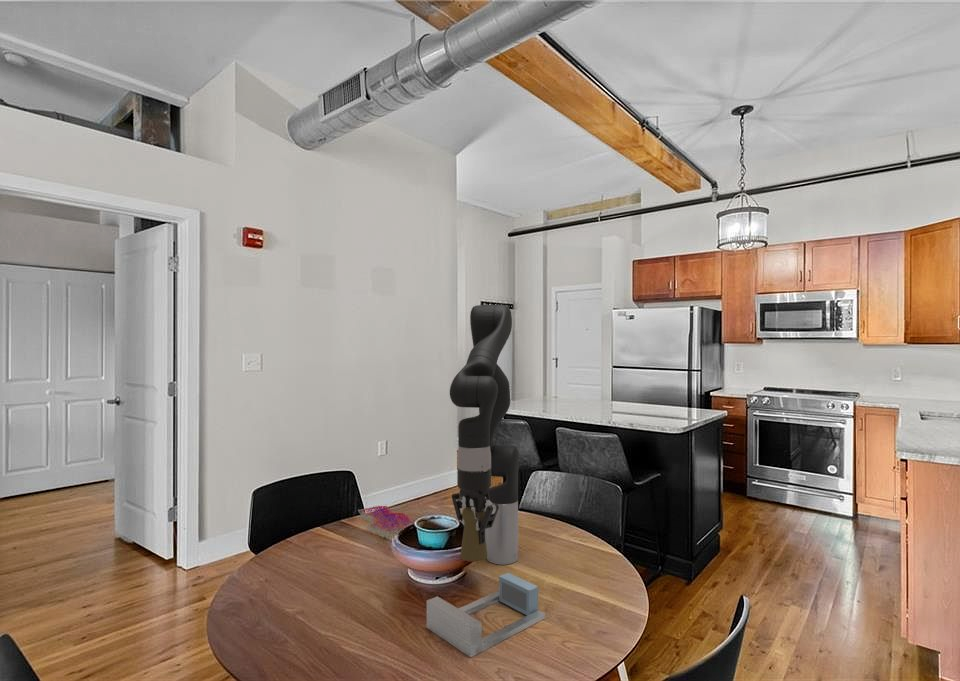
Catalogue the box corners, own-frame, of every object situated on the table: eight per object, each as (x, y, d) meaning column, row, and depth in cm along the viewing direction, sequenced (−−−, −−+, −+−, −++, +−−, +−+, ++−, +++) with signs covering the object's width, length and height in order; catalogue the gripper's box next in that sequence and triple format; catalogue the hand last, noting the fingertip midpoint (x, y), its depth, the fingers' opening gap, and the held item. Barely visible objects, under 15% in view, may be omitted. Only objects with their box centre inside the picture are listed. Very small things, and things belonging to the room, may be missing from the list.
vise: (426, 627, 117) (426, 600, 117) (499, 595, 132) (499, 571, 132) (470, 657, 106) (470, 627, 106) (544, 618, 121) (544, 592, 121)
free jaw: (499, 601, 128) (498, 576, 128) (508, 596, 130) (508, 572, 130) (529, 616, 121) (529, 590, 121) (538, 612, 123) (538, 586, 123)
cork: (487, 561, 113) (487, 510, 113) (459, 561, 113) (459, 510, 113) (487, 550, 119) (487, 502, 119) (460, 550, 119) (461, 502, 119)
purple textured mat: (356, 516, 194) (355, 502, 194) (396, 510, 200) (396, 497, 200) (374, 544, 166) (374, 528, 166) (420, 537, 172) (420, 521, 172)
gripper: (441, 463, 119) (441, 539, 119) (482, 474, 109) (483, 558, 109) (466, 458, 124) (466, 531, 124) (508, 468, 114) (508, 548, 114)
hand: (474, 543), depth 116 cm, fingers closed on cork, 2 cm apart
